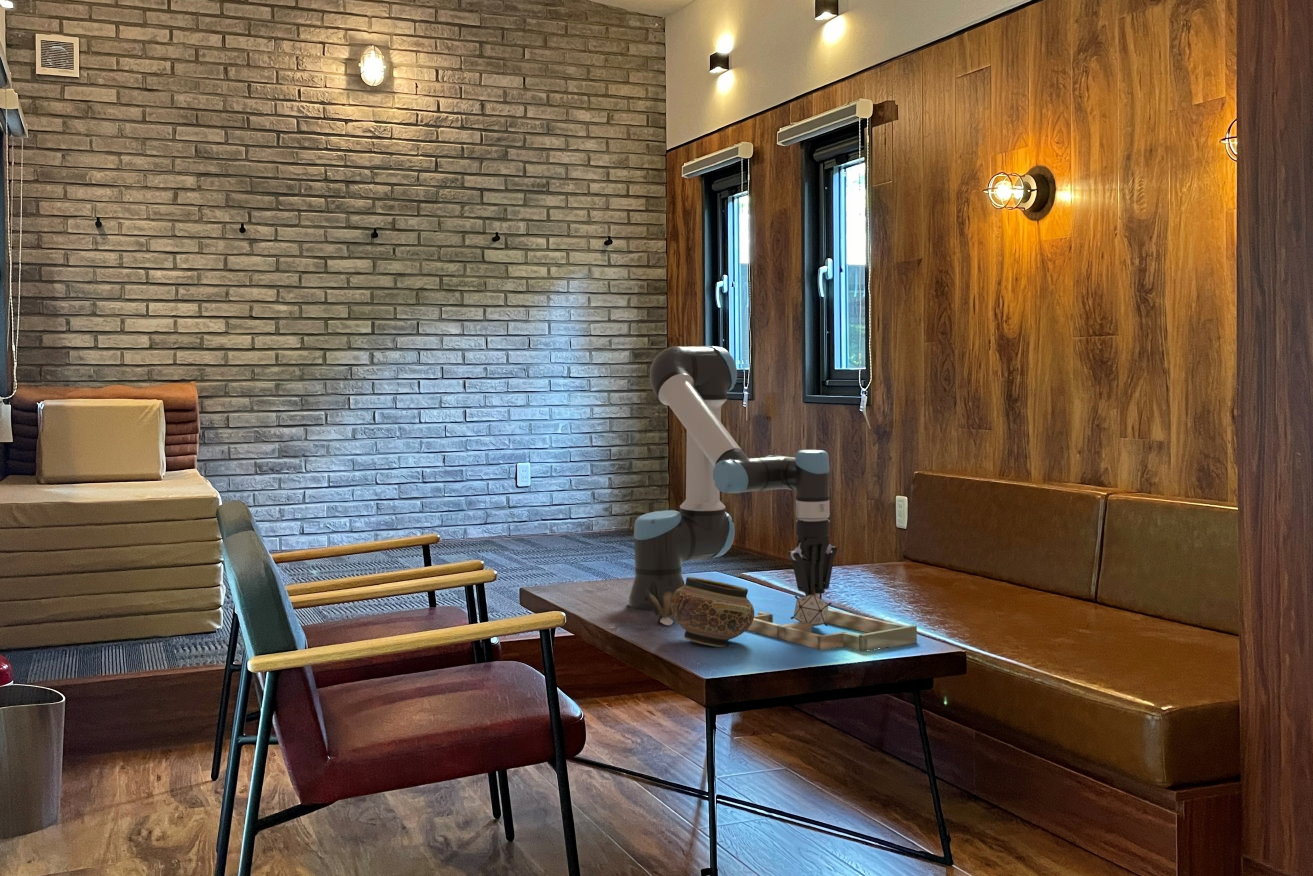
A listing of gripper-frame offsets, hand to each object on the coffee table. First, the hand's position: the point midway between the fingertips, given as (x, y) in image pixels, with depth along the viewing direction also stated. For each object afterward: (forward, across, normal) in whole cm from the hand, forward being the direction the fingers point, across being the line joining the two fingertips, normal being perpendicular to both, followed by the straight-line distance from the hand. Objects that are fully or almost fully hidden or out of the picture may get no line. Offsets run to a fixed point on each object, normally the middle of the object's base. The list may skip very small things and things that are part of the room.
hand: (813, 621), depth 277 cm
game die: (+1, -4, -2) cm, 5 cm away
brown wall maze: (+1, -1, -8) cm, 9 cm away
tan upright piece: (+2, -27, +22) cm, 35 cm away
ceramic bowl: (+1, -30, -2) cm, 30 cm away
